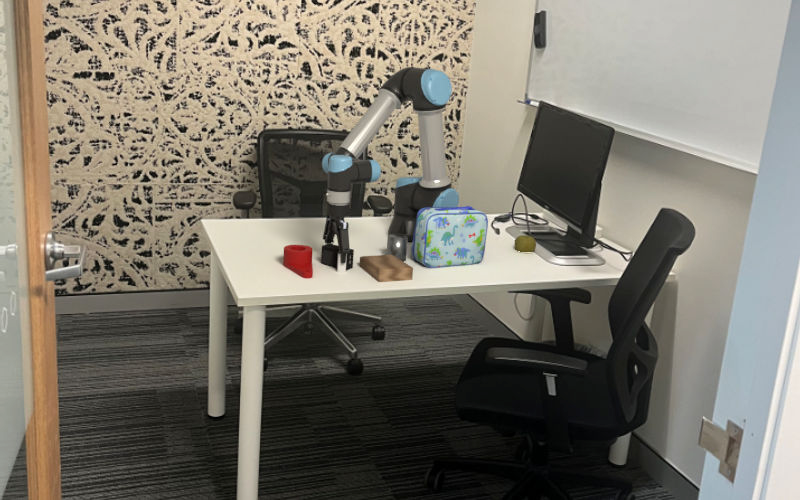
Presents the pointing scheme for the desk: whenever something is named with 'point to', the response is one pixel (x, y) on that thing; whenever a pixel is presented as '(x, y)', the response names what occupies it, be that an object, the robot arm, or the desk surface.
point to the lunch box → (449, 236)
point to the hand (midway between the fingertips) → (334, 267)
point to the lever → (299, 260)
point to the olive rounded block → (525, 243)
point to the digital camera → (335, 256)
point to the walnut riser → (386, 268)
